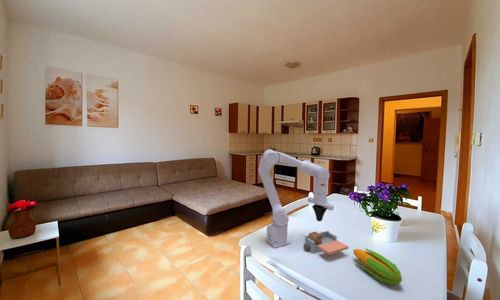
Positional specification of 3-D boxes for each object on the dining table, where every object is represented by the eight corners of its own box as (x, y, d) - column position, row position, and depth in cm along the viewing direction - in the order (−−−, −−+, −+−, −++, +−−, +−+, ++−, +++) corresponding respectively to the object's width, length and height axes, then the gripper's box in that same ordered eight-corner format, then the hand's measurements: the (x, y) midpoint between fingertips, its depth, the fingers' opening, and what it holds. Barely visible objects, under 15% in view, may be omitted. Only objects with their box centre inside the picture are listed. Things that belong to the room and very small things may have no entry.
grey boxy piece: (310, 254, 92) (311, 241, 92) (303, 248, 97) (303, 236, 96) (338, 246, 100) (338, 234, 99) (329, 241, 104) (330, 230, 104)
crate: (314, 245, 94) (315, 236, 93) (308, 241, 97) (308, 233, 97) (321, 243, 96) (322, 235, 95) (315, 239, 99) (315, 231, 99)
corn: (393, 270, 70) (346, 241, 89) (390, 292, 70) (344, 259, 89) (409, 267, 72) (360, 239, 91) (406, 289, 73) (358, 257, 91)
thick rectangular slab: (317, 248, 92) (328, 255, 87) (318, 245, 92) (328, 252, 87) (336, 242, 97) (348, 249, 92) (337, 240, 97) (348, 246, 92)
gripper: (338, 195, 97) (337, 224, 98) (315, 188, 110) (314, 214, 111) (327, 197, 94) (326, 227, 95) (305, 189, 107) (304, 216, 108)
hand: (319, 220), depth 103 cm, fingers closed
